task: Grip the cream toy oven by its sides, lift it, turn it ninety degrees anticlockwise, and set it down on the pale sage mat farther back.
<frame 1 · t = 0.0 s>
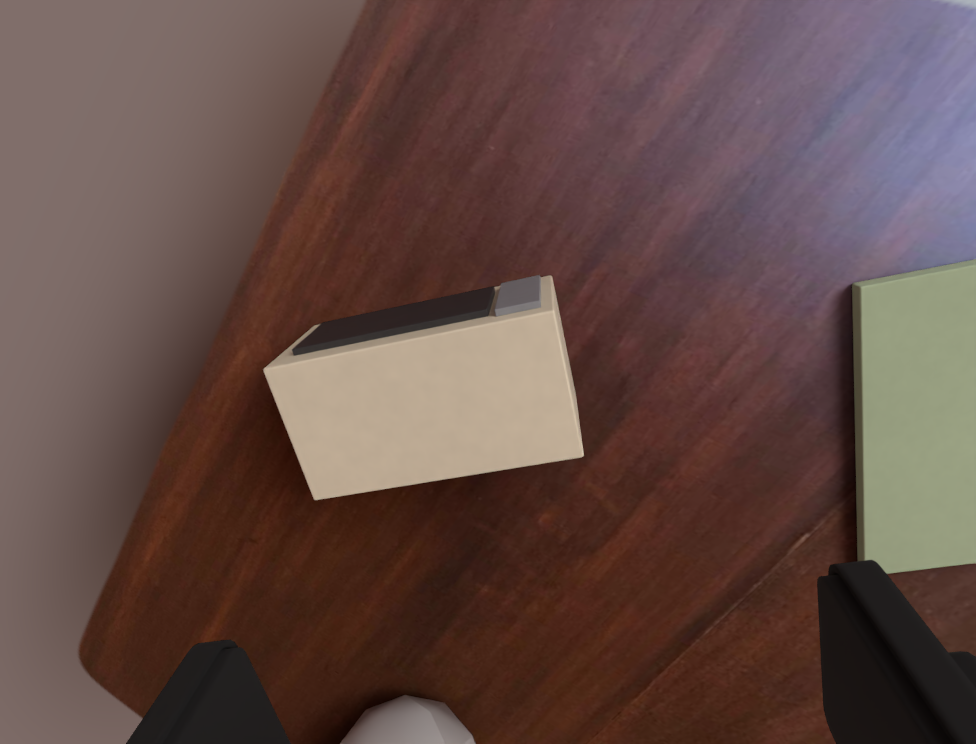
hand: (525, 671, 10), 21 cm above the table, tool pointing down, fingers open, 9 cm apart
toy oven: (370, 376, 31), on the table
potion bottle: (401, 738, 41), on the table
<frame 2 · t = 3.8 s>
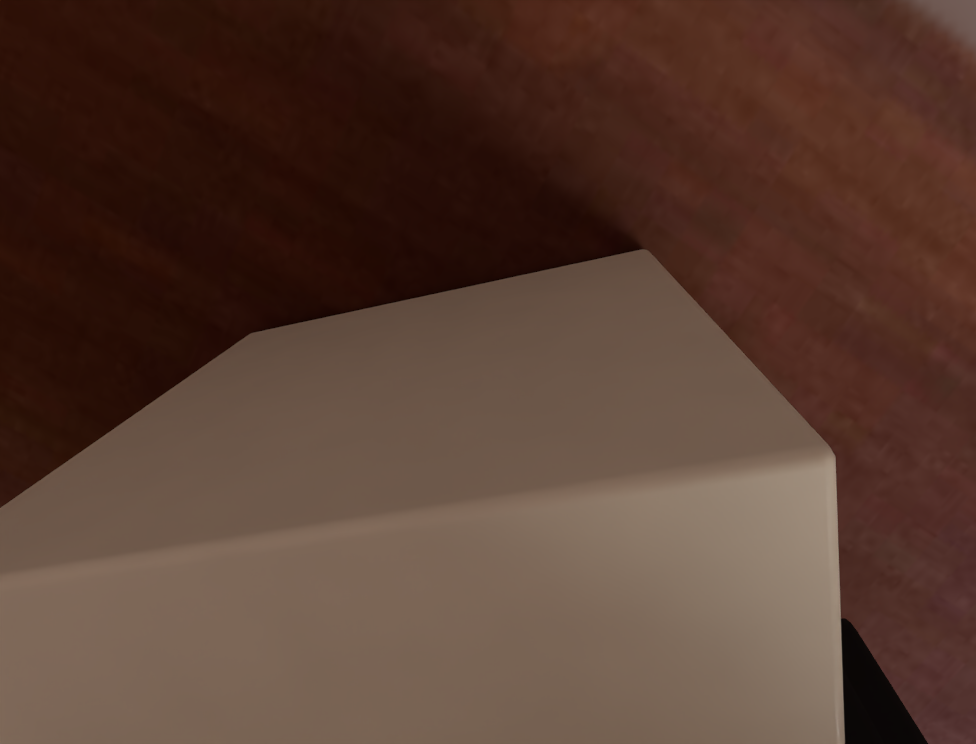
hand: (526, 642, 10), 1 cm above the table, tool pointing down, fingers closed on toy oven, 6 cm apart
toy oven: (468, 407, 10), on the table, touching gripper
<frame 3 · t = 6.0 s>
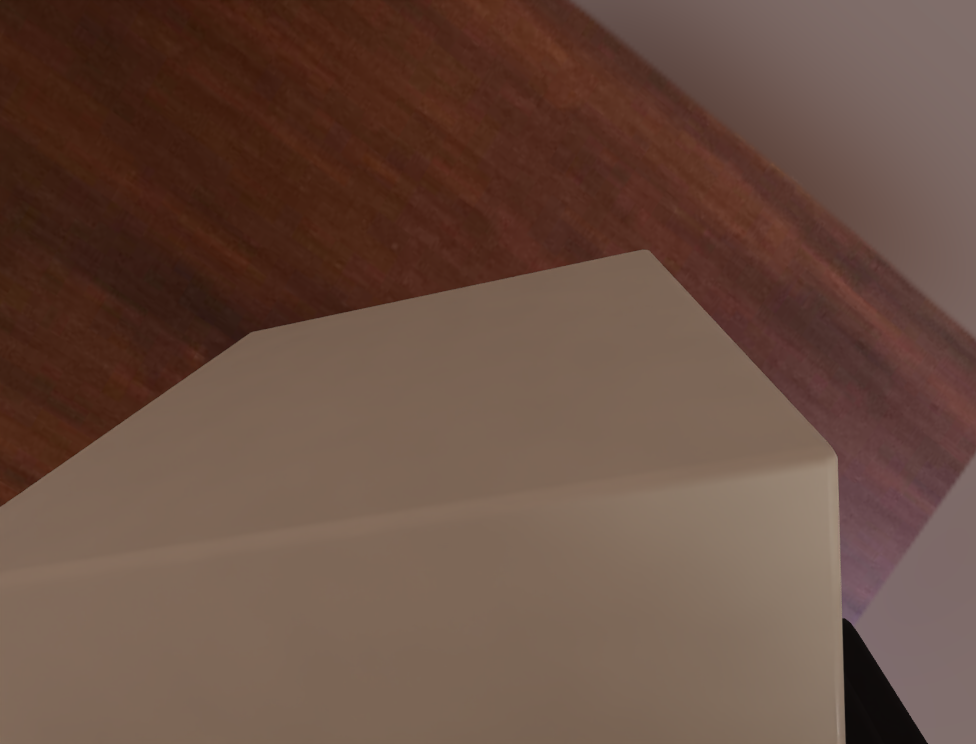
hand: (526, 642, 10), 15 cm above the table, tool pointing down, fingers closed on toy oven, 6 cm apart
toy oven: (469, 407, 10), point 14 cm above the table, touching gripper
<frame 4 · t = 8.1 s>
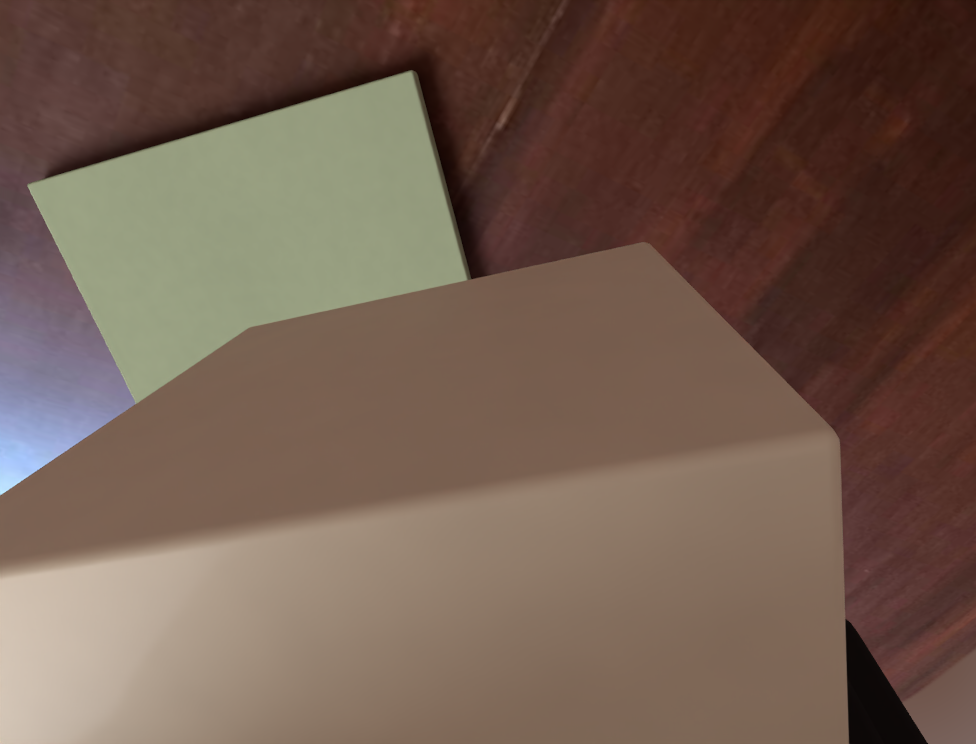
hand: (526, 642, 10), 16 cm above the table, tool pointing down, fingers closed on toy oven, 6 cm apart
toy oven: (468, 402, 10), point 15 cm above the table, touching gripper
mat: (292, 326, 26), on the table
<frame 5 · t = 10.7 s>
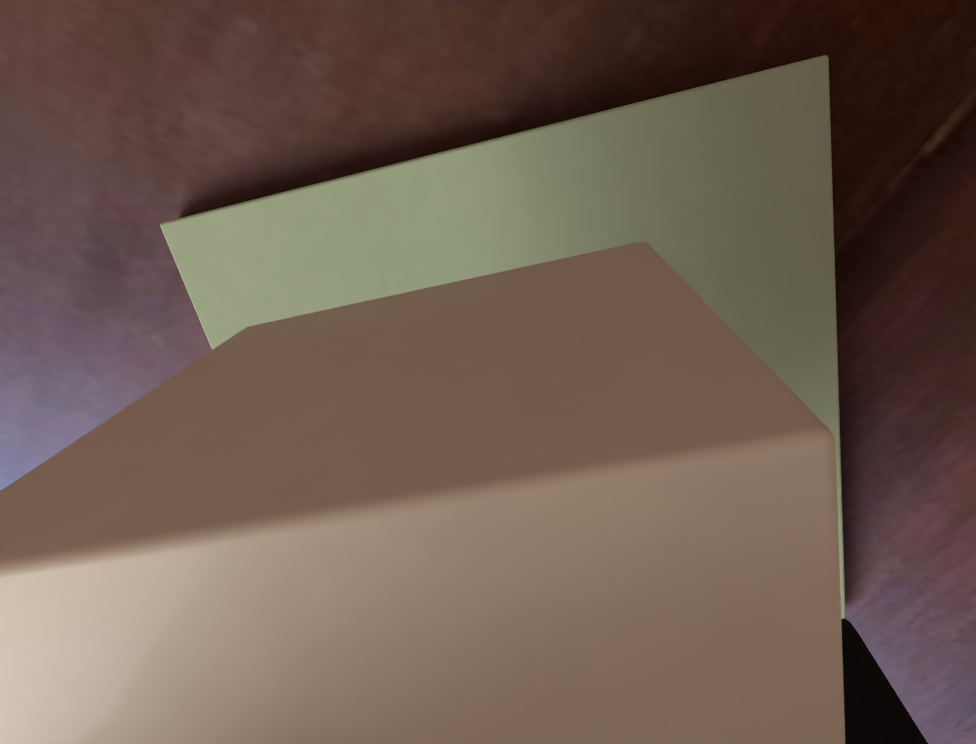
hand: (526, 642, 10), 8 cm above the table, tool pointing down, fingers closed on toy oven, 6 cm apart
toy oven: (466, 402, 10), point 7 cm above the table, touching gripper
mat: (533, 433, 17), on the table
when the fingers open (2 cm above the table, at t = 12.6 s): toy oven stays where it is, resting on mat.
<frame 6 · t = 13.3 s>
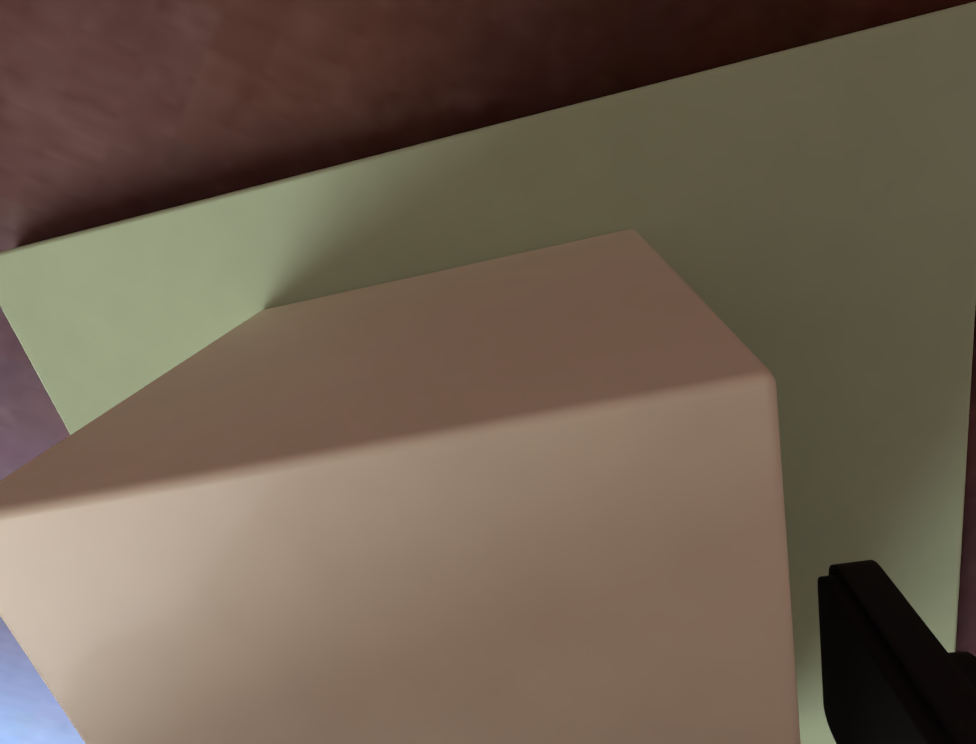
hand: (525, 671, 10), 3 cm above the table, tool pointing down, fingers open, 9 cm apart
toy oven: (467, 381, 10), point 1 cm above the table, touching mat
mat: (524, 540, 13), on the table
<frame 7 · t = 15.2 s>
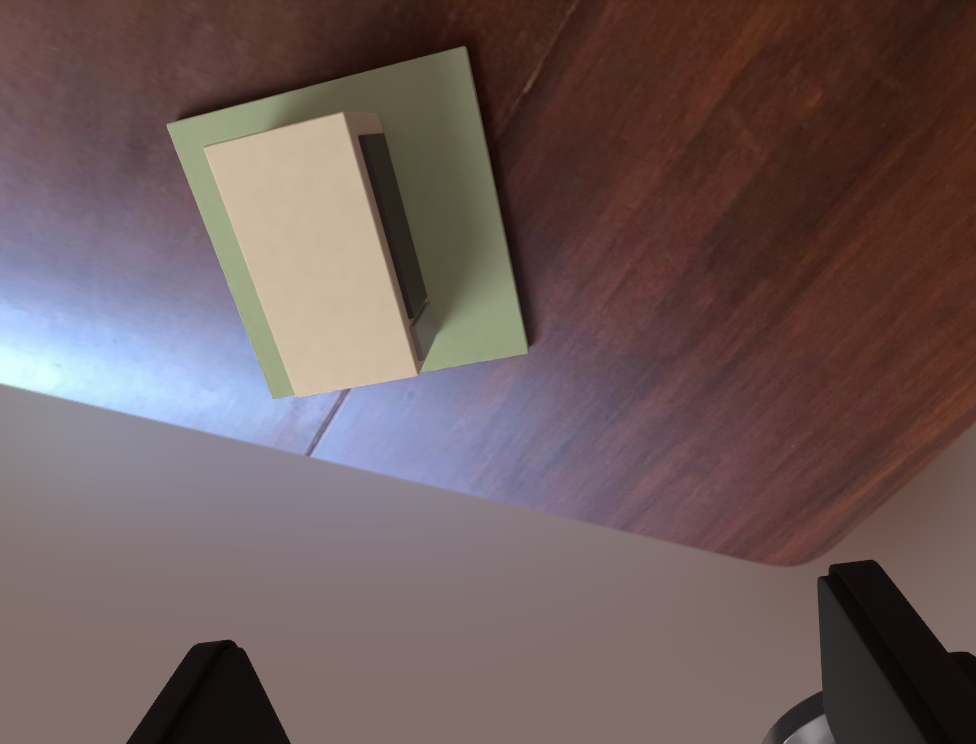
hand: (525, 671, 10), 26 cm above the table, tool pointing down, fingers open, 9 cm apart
toy oven: (331, 168, 31), point 1 cm above the table, touching mat
mat: (360, 241, 33), on the table
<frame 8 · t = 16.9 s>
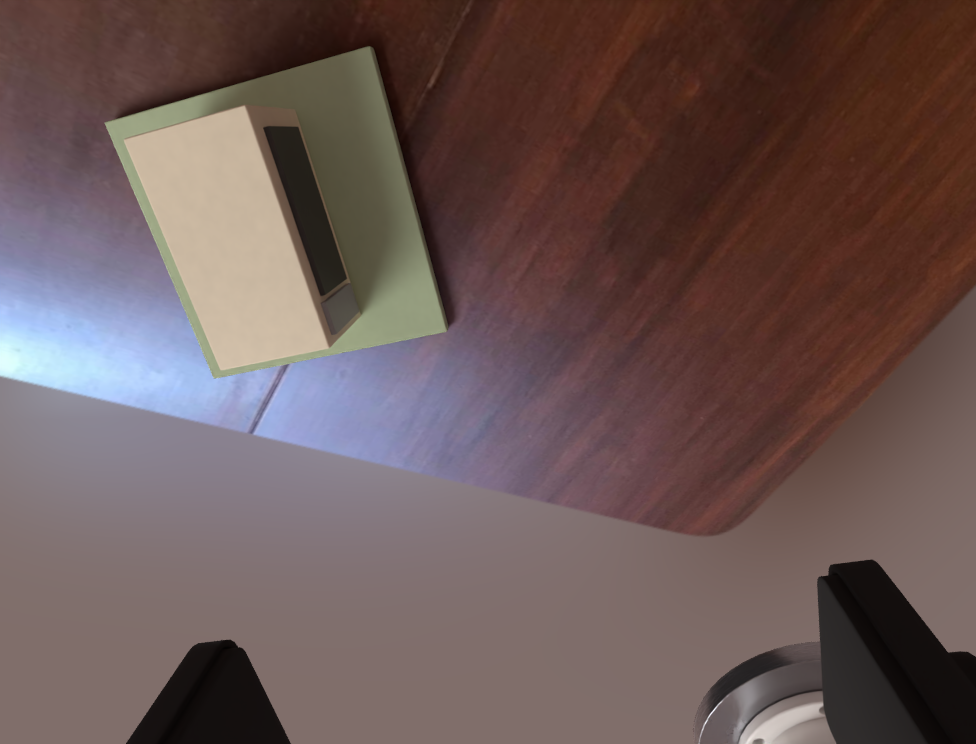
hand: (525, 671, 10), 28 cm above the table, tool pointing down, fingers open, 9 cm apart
toy oven: (255, 160, 34), point 1 cm above the table, touching mat
mat: (288, 229, 36), on the table
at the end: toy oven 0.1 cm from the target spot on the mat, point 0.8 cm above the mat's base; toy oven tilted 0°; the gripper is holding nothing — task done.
